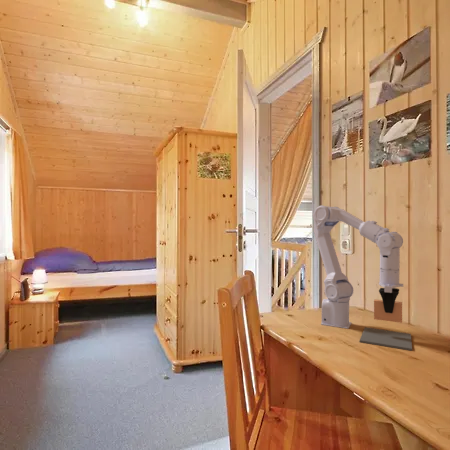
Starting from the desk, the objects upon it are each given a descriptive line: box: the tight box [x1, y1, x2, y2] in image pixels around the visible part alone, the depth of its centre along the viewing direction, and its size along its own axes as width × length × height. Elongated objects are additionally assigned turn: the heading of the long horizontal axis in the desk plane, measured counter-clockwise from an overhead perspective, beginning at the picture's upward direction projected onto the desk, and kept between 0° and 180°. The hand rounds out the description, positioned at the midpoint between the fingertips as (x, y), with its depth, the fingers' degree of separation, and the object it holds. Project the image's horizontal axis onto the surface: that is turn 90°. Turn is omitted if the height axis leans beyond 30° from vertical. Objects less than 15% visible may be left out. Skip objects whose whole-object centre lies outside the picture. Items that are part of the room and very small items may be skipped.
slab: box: [373, 298, 403, 324], centre depth 106 cm, size 8×2×6 cm, turn 61°
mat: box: [359, 326, 413, 352], centre depth 105 cm, size 14×16×1 cm
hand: (388, 311), depth 106 cm, fingers closed on slab, 2 cm apart
